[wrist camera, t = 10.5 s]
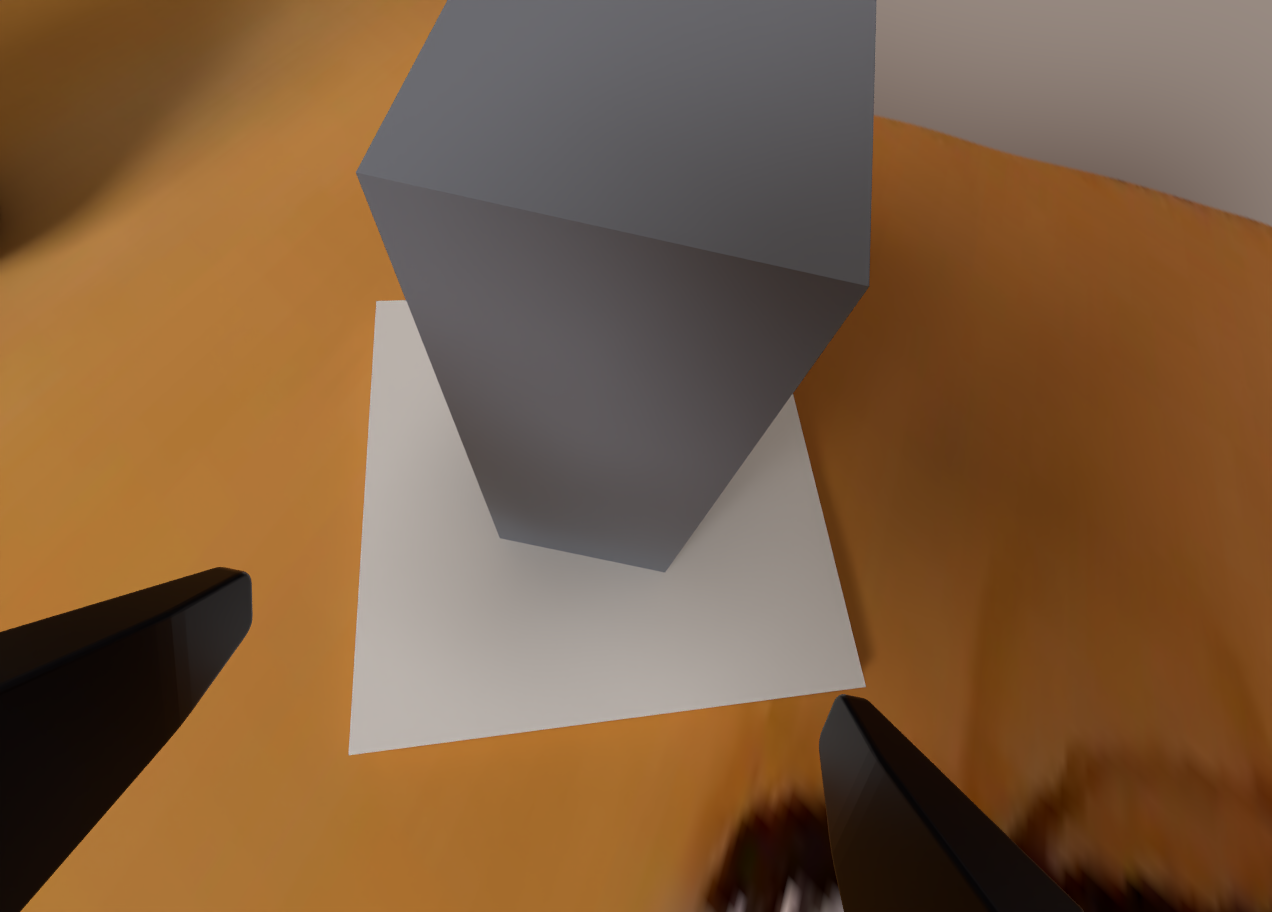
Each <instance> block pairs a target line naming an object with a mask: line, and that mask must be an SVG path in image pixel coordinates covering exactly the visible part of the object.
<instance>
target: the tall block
mask: <svg viewBox="0 0 1272 912" xmlns="http://www.w3.org/2000/svg"><path fill="white" fill-rule="evenodd" d="M875 34H876V0H447V2H446V4H445V6H444V8H443V10H442V12H441V14H440V15H439V17H438V19H437V21H436V23H435V25H434V27H433V29H432V30H431V32H430V34H429V36H428V38H427V40H426V42H425V44H424V46H423V47H422V49H421V51H420V53H419V55H418V57H417V59H416V61H415V62H414V64H413V66H412V68H411V70H410V72H409V74H408V76H407V77H406V79H405V81H404V83H403V85H402V87H401V89H400V91H399V93H398V94H397V96H396V98H395V100H394V102H393V104H392V106H391V108H390V109H389V111H388V113H387V115H386V117H385V119H384V121H383V123H382V124H381V126H380V128H379V130H378V132H377V134H376V136H375V138H374V139H373V141H372V143H371V145H370V147H369V149H368V151H367V153H366V155H365V156H364V158H363V160H362V162H361V164H360V166H359V168H358V170H357V171H356V174H357V177H358V179H359V182H360V184H361V187H362V189H363V192H364V194H365V197H366V199H367V202H368V205H369V207H370V210H371V212H372V215H373V217H374V220H375V222H376V225H377V227H378V230H379V232H380V235H381V238H382V240H383V243H384V245H385V248H386V250H387V253H388V255H389V258H390V260H391V263H392V265H393V268H394V271H395V273H396V276H397V278H398V281H399V283H400V286H401V288H402V291H403V293H404V296H405V299H406V301H407V304H408V306H409V309H410V311H411V314H412V316H413V319H414V321H415V324H416V326H417V329H418V332H419V334H420V337H421V339H422V342H423V344H424V347H425V349H426V352H427V354H428V357H429V360H430V362H431V365H432V367H433V370H434V372H435V375H436V377H437V380H438V382H439V385H440V387H441V390H442V393H443V395H444V398H445V400H446V403H447V405H448V408H449V410H450V413H451V415H452V418H453V421H454V423H455V426H456V428H457V431H458V433H459V436H460V438H461V441H462V443H463V446H464V448H465V451H466V454H467V456H468V459H469V461H470V464H471V466H472V469H473V471H474V474H475V476H476V479H477V481H478V484H479V487H480V489H481V492H482V494H483V497H484V499H485V502H486V504H487V507H488V509H489V512H490V515H491V517H492V520H493V522H494V525H495V527H496V530H497V532H498V535H499V537H500V538H501V539H506V540H511V541H516V542H521V543H525V544H530V545H535V546H540V547H545V548H549V549H554V550H559V551H564V552H569V553H573V554H578V555H583V556H588V557H593V558H598V559H602V560H607V561H612V562H617V563H622V564H626V565H631V566H636V567H641V568H646V569H650V570H655V571H660V572H666V570H667V569H668V568H669V566H670V565H671V563H672V562H673V561H674V559H675V558H676V556H677V555H678V554H679V552H680V551H681V549H682V548H683V547H684V545H685V544H686V542H687V541H688V540H689V538H690V537H691V535H692V534H693V533H694V531H695V530H696V528H697V527H698V526H699V524H700V523H701V521H702V520H703V519H704V517H705V516H706V514H707V513H708V512H709V510H710V509H711V507H712V506H713V505H714V503H715V502H716V500H717V499H718V498H719V496H720V495H721V493H722V492H723V491H724V489H725V488H726V486H727V485H728V484H729V482H730V481H731V479H732V478H733V477H734V475H735V474H736V472H737V471H738V470H739V468H740V467H741V465H742V464H743V463H744V461H745V460H746V458H747V457H748V455H749V454H750V453H751V451H752V450H753V448H754V447H755V446H756V444H757V443H758V441H759V440H760V439H761V437H762V436H763V434H764V433H765V432H766V430H767V429H768V427H769V426H770V425H771V423H772V422H773V420H774V419H775V418H776V416H777V415H778V413H779V412H780V411H781V409H782V408H783V406H784V405H785V404H786V402H787V401H788V399H789V398H790V397H791V395H792V394H793V392H794V391H795V390H796V388H797V387H798V385H799V384H800V383H801V381H802V380H803V378H804V377H805V376H806V374H807V373H808V371H809V370H810V369H811V367H812V366H813V364H814V363H815V362H816V360H817V359H818V357H819V356H820V355H821V353H822V352H823V350H824V349H825V348H826V346H827V345H828V343H829V342H830V341H831V339H832V338H833V336H834V335H835V334H836V332H837V331H838V329H839V328H840V327H841V325H842V324H843V322H844V321H845V320H846V318H847V317H848V315H849V314H850V313H851V311H852V310H853V308H854V307H855V306H856V304H857V303H858V301H859V300H860V299H861V297H862V296H863V294H864V293H865V292H866V290H867V289H868V287H869V271H870V232H871V192H872V153H873V113H874V74H875V73H874V72H875Z"/></svg>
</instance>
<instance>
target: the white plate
mask: <svg viewBox="0 0 1272 912" xmlns="http://www.w3.org/2000/svg"><path fill="white" fill-rule="evenodd" d="M861 687H866V685H865V681H864V677H863V673H862V669H861V665H860V661H859V657H858V653H857V649H856V645H855V641H854V637H853V633H852V629H851V625H850V621H849V617H848V613H847V609H846V605H845V601H844V597H843V593H842V589H841V585H840V581H839V577H838V573H837V569H836V565H835V561H834V557H833V553H832V549H831V545H830V541H829V537H828V533H827V528H826V524H825V520H824V516H823V512H822V508H821V504H820V500H819V496H818V492H817V488H816V484H815V480H814V476H813V472H812V468H811V464H810V460H809V456H808V452H807V448H806V444H805V440H804V436H803V432H802V428H801V424H800V420H799V416H798V412H797V408H796V404H795V400H794V396H793V394H792V395H791V397H790V398H789V399H788V401H787V402H786V404H785V405H784V406H783V408H782V409H781V411H780V412H779V413H778V415H777V416H776V418H775V419H774V420H773V422H772V423H771V425H770V426H769V427H768V429H767V430H766V432H765V433H764V434H763V436H762V437H761V439H760V440H759V441H758V443H757V444H756V446H755V447H754V448H753V450H752V451H751V453H750V454H749V455H748V457H747V458H746V460H745V461H744V463H743V464H742V465H741V467H740V468H739V470H738V471H737V472H736V474H735V475H734V477H733V478H732V479H731V481H730V482H729V484H728V485H727V486H726V488H725V489H724V491H723V492H722V493H721V495H720V496H719V498H718V499H717V500H716V502H715V503H714V505H713V506H712V507H711V509H710V510H709V512H708V513H707V514H706V516H705V517H704V519H703V520H702V521H701V523H700V524H699V526H698V527H697V528H696V530H695V531H694V533H693V534H692V535H691V537H690V538H689V540H688V541H687V542H686V544H685V545H684V547H683V548H682V549H681V551H680V552H679V554H678V555H677V556H676V558H675V559H674V561H673V562H672V563H671V565H670V566H669V568H668V569H667V570H666V572H660V571H655V570H650V569H646V568H641V567H636V566H631V565H626V564H622V563H617V562H612V561H607V560H602V559H598V558H593V557H588V556H583V555H578V554H573V553H569V552H564V551H559V550H554V549H549V548H545V547H540V546H535V545H530V544H525V543H521V542H516V541H511V540H506V539H501V538H500V537H499V535H498V532H497V530H496V527H495V525H494V522H493V520H492V517H491V515H490V512H489V509H488V507H487V504H486V502H485V499H484V497H483V494H482V492H481V489H480V487H479V484H478V481H477V479H476V476H475V474H474V471H473V469H472V466H471V464H470V461H469V459H468V456H467V454H466V451H465V448H464V446H463V443H462V441H461V438H460V436H459V433H458V431H457V428H456V426H455V423H454V421H453V418H452V415H451V413H450V410H449V408H448V405H447V403H446V400H445V398H444V395H443V393H442V390H441V387H440V385H439V382H438V380H437V377H436V375H435V372H434V370H433V367H432V365H431V362H430V360H429V357H428V354H427V352H426V349H425V347H424V344H423V342H422V339H421V337H420V334H419V332H418V329H417V326H416V324H415V321H414V319H413V316H412V314H411V311H410V309H409V306H408V304H407V301H406V300H399V301H376V316H375V332H374V349H373V365H372V381H371V398H370V414H369V431H368V447H367V463H366V480H365V496H364V512H363V529H362V545H361V561H360V578H359V594H358V610H357V627H356V643H355V659H354V676H353V692H352V708H351V725H350V741H349V755H354V754H361V753H369V752H377V751H384V750H392V749H399V748H407V747H414V746H422V745H430V744H437V743H445V742H452V741H460V740H467V739H475V738H483V737H490V736H498V735H505V734H513V733H520V732H528V731H536V730H543V729H551V728H558V727H566V726H573V725H581V724H589V723H596V722H604V721H611V720H619V719H626V718H634V717H642V716H649V715H657V714H664V713H672V712H679V711H687V710H695V709H702V708H710V707H717V706H725V705H732V704H740V703H748V702H755V701H763V700H770V699H778V698H785V697H793V696H801V695H808V694H816V693H823V692H831V691H838V690H846V689H854V688H861Z"/></svg>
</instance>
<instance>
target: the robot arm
mask: <svg viewBox="0 0 1272 912" xmlns="http://www.w3.org/2000/svg"><path fill="white" fill-rule="evenodd" d="M251 623H252V583H251V578H250V576H249V574H248V573H246V572H244V571H240V570H235V569H230V568H225V567H217V568H213V569H210V570H206V571H203V572H200V573H196V574H193V575H189V576H186V577H183V578H179V579H176V580H173V581H169V582H166V583H163V584H159V585H156V586H153V587H149V588H146V589H143V590H139V591H136V592H133V593H129V594H126V595H123V596H119V597H116V598H113V599H109V600H106V601H103V602H99V603H96V604H93V605H89V606H86V607H83V608H79V609H76V610H73V611H69V612H66V613H63V614H59V615H56V616H53V617H49V618H46V619H43V620H39V621H36V622H32V623H29V624H26V625H22V626H19V627H16V628H12V629H9V630H6V631H2V632H0V912H20V911H21V910H22V909H23V908H24V907H25V906H26V904H27V903H28V902H29V901H30V900H31V899H32V898H33V896H34V895H35V894H36V893H37V892H38V891H39V889H40V888H41V887H42V886H43V885H44V884H45V883H46V881H47V880H48V879H49V878H50V877H51V876H52V874H53V873H54V872H55V871H56V870H57V869H58V868H59V866H60V865H61V864H62V863H63V862H64V861H65V859H66V858H67V857H68V856H69V855H70V854H71V852H72V851H73V850H74V849H75V848H76V847H77V846H78V844H79V843H80V842H81V841H82V840H83V839H84V837H85V836H86V835H87V834H88V833H89V832H90V831H91V829H92V828H93V827H94V826H95V825H96V824H97V822H98V821H99V820H100V819H101V818H102V817H103V816H104V814H105V813H106V812H107V811H108V810H109V809H110V807H111V806H112V805H113V804H114V803H115V802H116V801H117V799H118V798H119V797H120V796H121V795H122V794H123V792H124V791H125V790H126V789H127V788H128V787H129V786H130V784H131V783H132V782H133V781H134V780H135V779H136V777H137V776H138V775H139V774H140V773H141V772H142V771H143V769H144V768H145V767H146V766H147V765H148V764H149V762H150V761H151V760H152V759H153V758H154V757H155V756H156V754H157V753H158V752H159V751H160V750H161V749H162V747H163V746H164V745H165V744H166V743H167V742H168V740H169V739H170V738H171V737H172V736H173V734H174V733H175V732H176V731H177V730H178V728H179V727H180V726H181V725H182V723H183V722H184V721H185V719H186V718H187V717H188V715H189V714H190V713H191V712H192V710H193V709H194V707H195V706H196V705H197V703H198V702H199V700H200V699H201V698H202V696H203V695H204V693H205V692H206V691H207V689H208V688H209V686H210V685H211V684H212V682H213V681H214V679H215V678H216V677H217V675H218V674H219V672H220V671H221V670H222V668H223V667H224V665H225V664H226V663H227V661H228V660H229V658H230V657H231V656H232V654H233V653H234V651H235V650H236V649H237V647H238V646H239V644H240V643H241V642H242V640H243V639H244V637H245V636H246V634H247V633H248V631H249V629H250V626H251ZM819 753H820V762H821V770H822V779H823V787H824V796H825V804H826V813H827V821H828V830H829V838H830V845H831V852H832V858H833V863H834V868H835V873H836V877H837V882H838V887H839V891H840V896H841V900H842V905H843V909H844V912H1083V909H1082V908H1081V907H1080V906H1079V905H1078V904H1077V903H1076V902H1075V901H1074V900H1073V899H1072V898H1071V897H1070V896H1069V895H1068V894H1067V893H1066V892H1065V891H1063V890H1062V889H1061V888H1060V887H1059V886H1058V885H1057V884H1056V883H1055V882H1054V881H1053V880H1052V879H1051V878H1050V877H1049V876H1048V875H1047V874H1046V873H1045V872H1044V871H1043V870H1042V869H1041V868H1040V867H1039V866H1038V865H1037V864H1036V863H1035V862H1034V861H1033V860H1032V859H1031V858H1030V857H1029V856H1028V855H1026V854H1025V853H1024V852H1023V851H1022V850H1021V849H1020V848H1019V847H1018V846H1017V845H1016V844H1015V843H1014V842H1013V841H1012V840H1011V839H1010V838H1009V837H1008V836H1007V835H1006V834H1005V833H1004V832H1003V831H1002V830H1001V829H1000V828H999V827H998V826H997V825H996V824H995V823H994V822H993V821H992V820H991V819H989V818H988V817H987V816H986V815H985V814H984V813H983V812H982V811H981V810H980V809H979V808H978V807H977V806H976V805H975V804H974V803H973V802H972V801H971V800H970V799H969V798H968V797H967V796H966V795H965V794H964V793H963V792H962V791H961V790H960V789H959V788H958V787H957V786H956V785H955V784H954V783H952V782H951V781H950V780H949V779H948V778H947V777H946V776H945V775H944V774H943V773H942V772H941V771H940V770H939V769H938V768H937V767H936V766H935V765H934V764H933V763H932V762H931V761H930V760H929V759H928V758H927V757H926V756H925V755H924V754H923V753H922V752H921V751H920V750H919V749H918V748H917V747H915V746H914V745H913V744H912V743H911V742H910V741H909V740H908V739H907V738H906V737H905V736H904V735H903V734H902V733H901V732H900V731H899V730H898V729H897V728H896V727H895V726H894V725H893V724H892V723H891V722H890V721H889V720H888V719H887V718H886V717H885V716H884V715H883V714H882V713H881V712H880V711H878V710H877V709H876V708H875V707H874V706H873V705H872V704H871V703H870V702H869V701H868V700H866V699H864V698H860V697H855V696H850V695H845V694H842V695H839V696H838V697H837V698H836V699H835V701H834V703H833V706H832V708H831V710H830V713H829V715H828V718H827V720H826V722H825V725H824V727H823V730H822V732H821V735H820V740H819Z"/></svg>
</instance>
